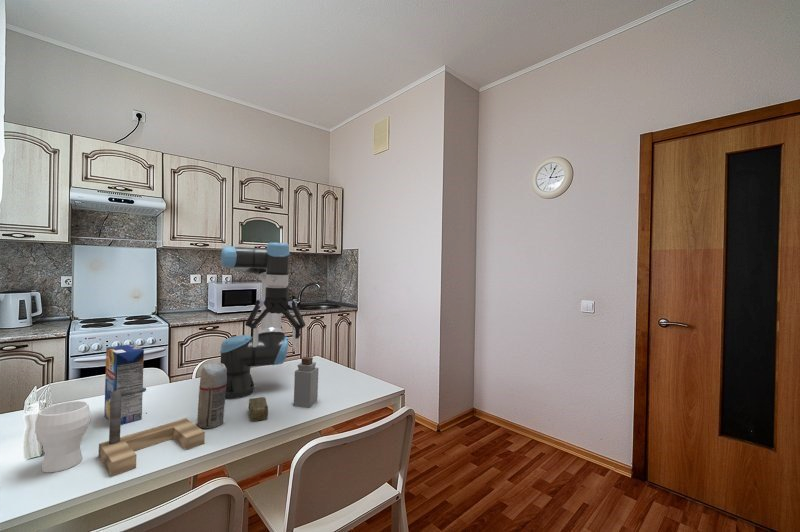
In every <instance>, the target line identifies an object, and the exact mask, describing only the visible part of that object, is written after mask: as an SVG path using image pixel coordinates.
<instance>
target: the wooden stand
mask: <svg viewBox="0 0 800 532" xmlns="http://www.w3.org/2000/svg"><path fill="white" fill-rule="evenodd" d="M146 391H147V388H146V387H143V388H140V389H135V390H130V391H126V392H122V391H113V392H111V396H110V422H109V429H108V430H109V431H108V432H109V433H108V440H106V441H104V442H103V441H102V442H100V443H98V457H99V459H100V460H101V462H102V464H103V465H104V466H105V468H106V470H107V471H108V473H109V474H110V476H111V477H114V476H117V475H120V474H123V473H125V472H128V471H131V470H133V469H136V468H137V453H136V452H135V451H138V450H141V449H146V448H149V447H151V446H154V445H158V444H160V443H163V442H166V441H167V442H168V441H170V440H174V441H175V442H176V443H177V444H179V445H180V447H182V448H183V449H184V450H186V451H187V450H190V449H193V448H196V447H198V446H201V445H203V444H205V438H206V437H205V434H206V433H205V430H203V428H202V429H201V427H198V426H197V424H195V423H194V422H192V421H191V420H190V419H188V418H186V417H185V418H182V419H179V420H178V419H177V420H174V421H172V422H168V423H165V424H161V425H158V426H154V427H150V428H148V429H144V430H141V431H137V432H133V433H131V434H126V435H123V436H121V426H122V425H121V397H123V396H127V395H132V394H136V393H141V392H143V393H144V392H146Z"/></svg>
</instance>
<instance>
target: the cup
mask: <svg viewBox="0 0 800 532" xmlns="http://www.w3.org/2000/svg"><path fill="white" fill-rule="evenodd" d="M91 413H92V412H91V409H90V406H89V403H88V402H87V401H85V400H72V401H64V402H60V403H56V404H52V405H50V406H46V407H44V408H42V409H41V410H39V411H38V414H37V416H36V419H35V425H34V426H35V428H34V430H35V431H34V433H35V436H36V438H37V440H38V441H39V442H40V444H41V445H42V446H43V450H44V451H43V452H44V457H43V461H42V466H41V471H42V472H44V473H56V472H61V471H64V470H67V469H70V468H72V467H74V466H77V465H78V464H80V463H81V462H82V460H83V455H82V450H81V444H82V443H81V442H82V438H83V437H84V436H83V435H84V434H85V433H86V432H87V429H88V428H89V424H90V422H91V417H92V415H91Z"/></svg>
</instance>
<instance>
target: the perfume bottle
mask: <svg viewBox="0 0 800 532" xmlns="http://www.w3.org/2000/svg"><path fill="white" fill-rule="evenodd" d="M316 365H317V362H315V361H313V356H304V357H302V358H301V362H300V363H298V364H297V369H296V370H294V379H293V380H294V382H293V383H294V385H293V387H294V388H293V406H294V407H301V408H306V409H307V408H308V409H311V408H312V407H313V406H314V405H315V404H316V403H318V393H319V392H318V391H319V367H316Z"/></svg>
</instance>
